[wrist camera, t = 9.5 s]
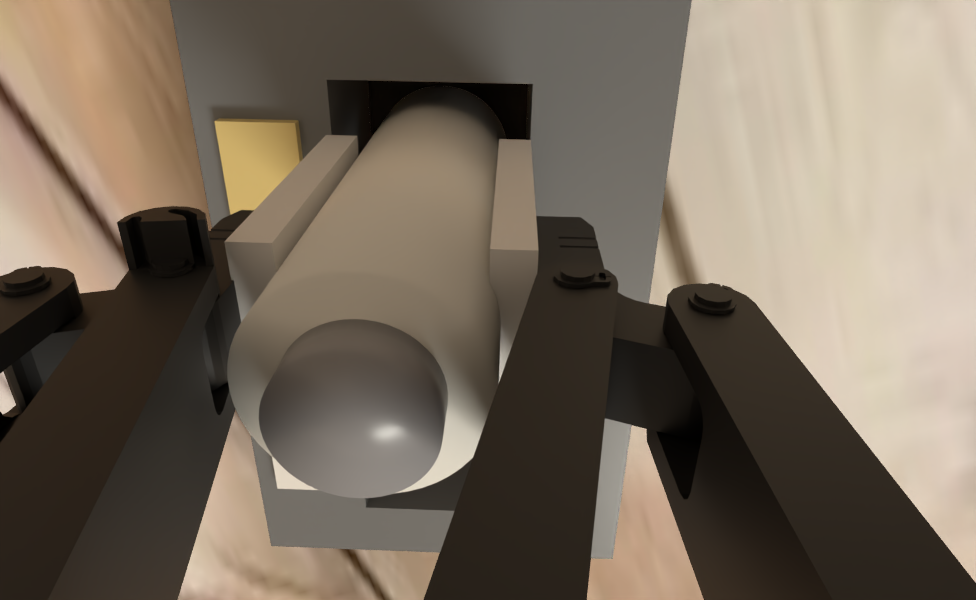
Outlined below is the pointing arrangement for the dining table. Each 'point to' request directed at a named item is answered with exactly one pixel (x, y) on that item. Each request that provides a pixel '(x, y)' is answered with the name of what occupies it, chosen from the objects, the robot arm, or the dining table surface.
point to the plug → (384, 312)
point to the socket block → (346, 111)
